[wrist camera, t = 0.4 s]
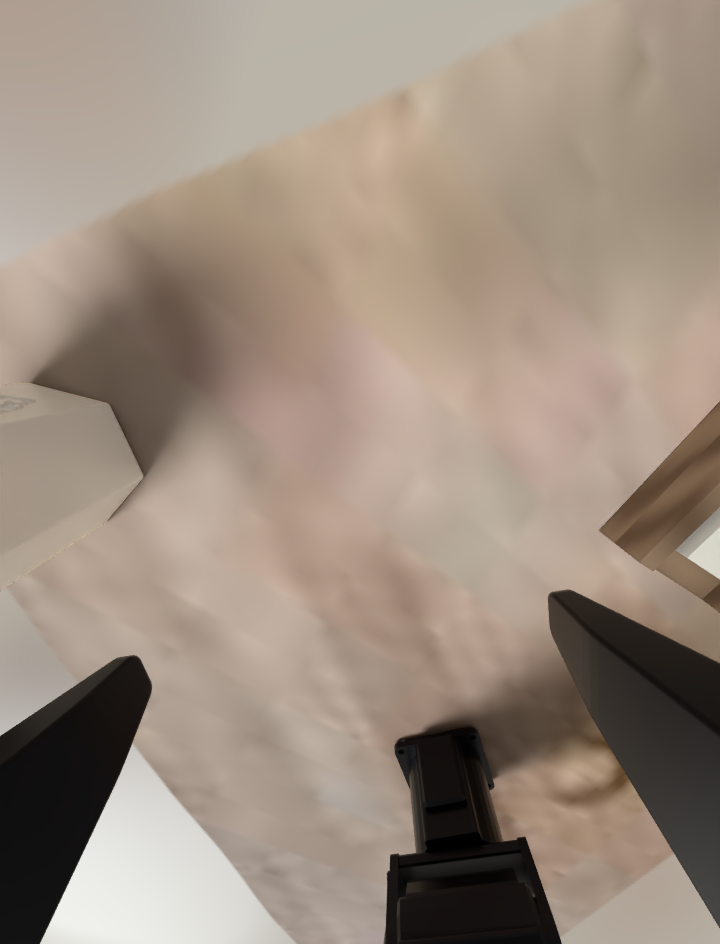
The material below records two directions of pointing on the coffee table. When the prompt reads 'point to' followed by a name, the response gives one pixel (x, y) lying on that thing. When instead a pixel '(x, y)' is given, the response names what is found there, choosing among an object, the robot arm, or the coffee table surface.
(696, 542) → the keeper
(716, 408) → the brown wooden open box
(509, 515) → the coffee table surface
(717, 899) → the robot arm
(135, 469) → the jar
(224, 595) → the coffee table surface
